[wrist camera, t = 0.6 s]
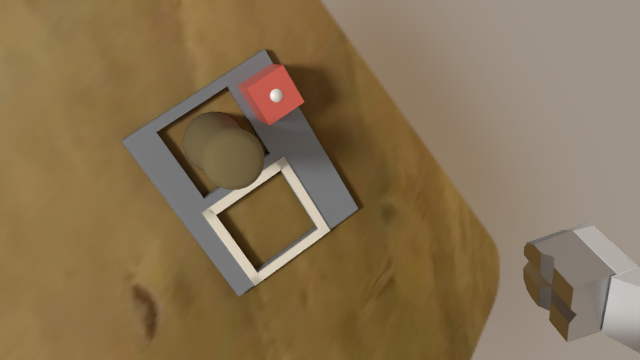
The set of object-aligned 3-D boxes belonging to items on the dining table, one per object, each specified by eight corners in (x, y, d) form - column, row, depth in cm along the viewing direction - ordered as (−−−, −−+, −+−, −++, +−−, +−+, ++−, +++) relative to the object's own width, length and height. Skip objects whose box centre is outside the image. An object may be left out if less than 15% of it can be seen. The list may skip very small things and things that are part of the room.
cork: (241, 108, 53) (270, 121, 43) (247, 167, 55) (277, 193, 45) (178, 115, 51) (195, 130, 41) (187, 176, 53) (204, 205, 43)
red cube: (237, 86, 52) (246, 88, 48) (271, 64, 53) (283, 64, 49) (258, 120, 53) (269, 125, 50) (291, 98, 54) (304, 102, 50)
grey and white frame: (121, 140, 50) (121, 141, 49) (262, 49, 53) (265, 49, 52) (237, 293, 57) (239, 297, 57) (355, 206, 60) (359, 209, 59)
